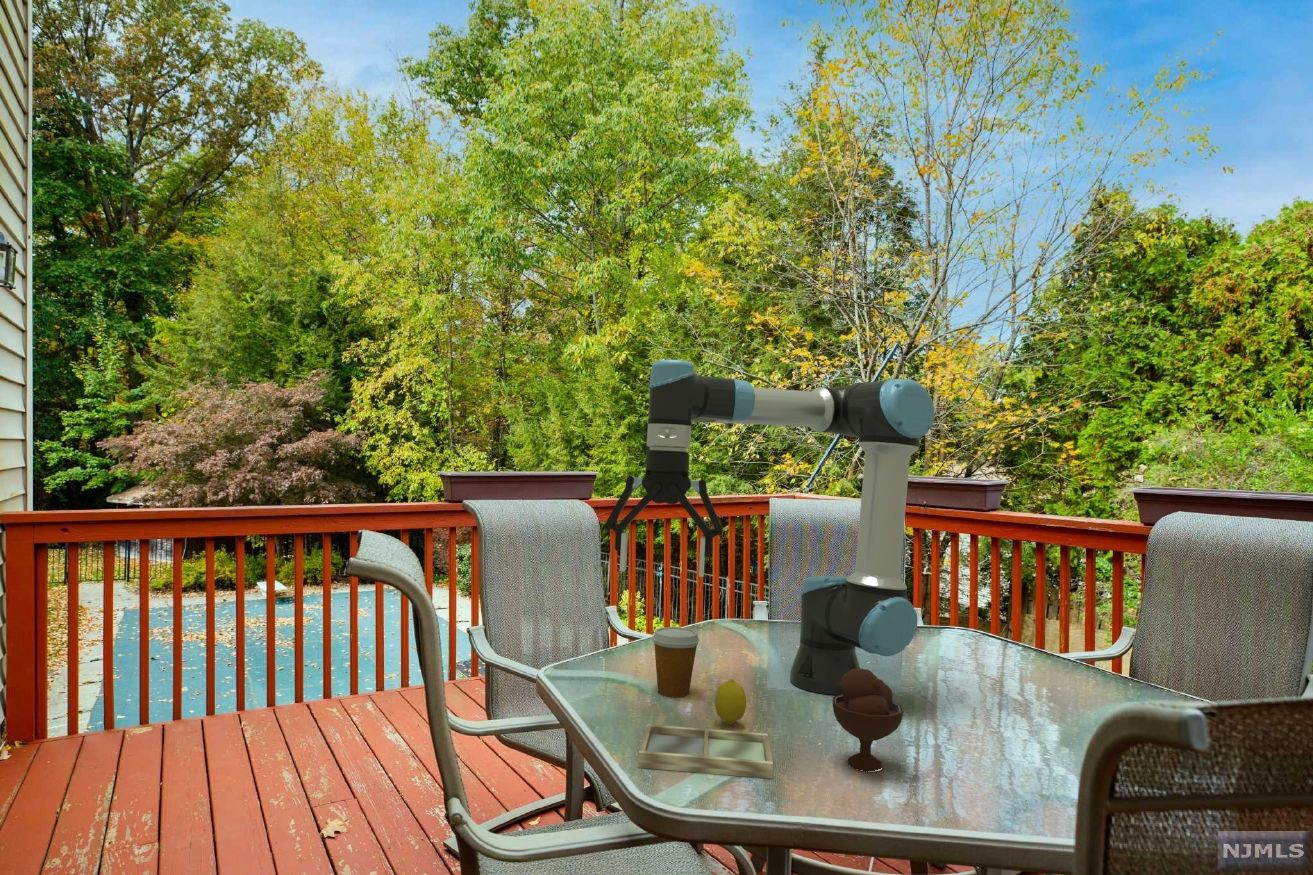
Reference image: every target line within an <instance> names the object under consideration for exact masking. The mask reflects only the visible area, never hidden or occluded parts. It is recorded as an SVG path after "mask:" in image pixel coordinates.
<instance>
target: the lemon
mask: <svg viewBox="0 0 1313 875" xmlns="http://www.w3.org/2000/svg"><path fill="white" fill-rule="evenodd" d="M746 708H747V696H746V691H745V689H744V687H743V686H742V685H741V684H740V683H738V682H736V681H735V679H731V678H730V679H728V680H726V681H725V682H723V683H721V684H720V685H719V687H718V688H717V691H716V693H715V696H714V709H715V711H716V714H717V716H718V717H719V719H721V720H722V721H724V722H725V723H726V724H727V725H728V726H731V725H733V724H734V723H735V722H738V721H739V720H741V719H742V718H743V716H744V714H745V712H746Z"/></svg>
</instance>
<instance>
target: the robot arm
mask: <svg viewBox="0 0 1313 875" xmlns="http://www.w3.org/2000/svg"><path fill="white" fill-rule="evenodd" d="M648 388H649V393H648V394H649V398H648V420H647V431H646V432H647V433H646V434H647V435H646V436H647V437H646V446H647V447H649V450H647V451H646V453H645V469H644V470H645V472H644V476H643V478H642V477H635V476H634V475H628V476H627V477H626V480H625V481H626V482H625V486H624V489H623V491H622V493H621V495H620V497H619V498H618V500H617V502H616V504H615V506H614V507H613V508H612V511H611V512H610V514H609V516H608V518H607V520H606V522H605V527H606V528H607V529H610V530H613V532H614V533H615V534H614V536H615V537H614V550H615V551H616V552H620V556H619V558H620V560H619V572H625V571H626V570H627V562H628V543H629V542H628V540H629V531H625V529H626V528H628V526H629V525H630V524H631V522H633V520H634V519H635V518H636V517H637V516H638V515H639V514H640V513H641V512H642V511H643V510H644V509H645V508H646V507H647V506H648V505H649V504H650V503H651V501H652V502H653V503H656V504H664V503H665V504H668V505H676V504H678V503H680V505H681V506H682V507H683V508H684V510H685V511H686V513H687V514H688V515H689V516H690V518H691V519H692V520H693V522H694V523H695V524H696V526H697V527H698V528H699V530H700V531H701V532H702V534H703V535H704V536H700V547H699V568H698V577H701V578H703V577H704V576H705V563H706V562H705V561H706V560H705V558H706V557H709V558H710V557H711V556H712V552H713V550H712V548H713V538H714V537H717V536H721V535H722V534H724V528H723V525H722V523H721V521H720V519H719V516H718V514H717V512H716V510H715V508H714V505H713V503H712V500H711V499H710V496H709V494H708V490H707V489H708V488H707V481H706V480H705V479H704V478H703V479H700V480H690V477H689V476H690V475H689V474H690V453H689V452H687V450H688V449H690V447H691V438H692V437H691V436H692V434H691V433H692V423H713V424H714V423H717V424H718V423H719V424H720V423H721V424H740V425H741V424H742V425H757V426H758V425H761V426H783V427H803V428H804V427H806V428H810V429H811V430H812V431H813V432H815V433H828V434H834V435H840V436H847V437H851V438H858V445H859V447H860V448H861V449H862V451H863V452H864V465H863V474H862V486H861V487H862V488H861V498H860V510H859V511H860V512H859V521H858V522H859V523H858V534H857V542H856V544H857V545H856V546H857V547H856V556H855V558H856V559H855V568H854V572H853V573H852V574H850V575H849V576H846V575H845V576H841V575H840V576H839V575H836V576H835V575H833V576H832V575H825V576H824V575H823V576H820V575H819V576H808V577H806V578H805V579H804V580H803V582H802V587H801V592H800V598H801V601H800V604H801V605H800V632H799V633H800V637H799V647H798V649H797V652H796V654H795V657H794V660H793V663H792V665H791V668H790V675H789V676H790V679H789V680H790V682H791V683H792V684H793V685H794V686H795V687H797V688H800V689H802V690H806V691H808V692H813V693H818V694H825V695H834V696H838V695H841V694H843V693H842V691H841V687H840V685H839V684H840V682H841V679H842V677H843V676H844V674H846V673H847V672H849V671H850V670H852V669H857V668H861V667H860V663H859V660H858V655H857V652H856V648H858V649H861V650H863V651H865V652H867V653H869V654H872V655H873V654H875V655H877V656H878V655H879V656H882V657H890V656H891V657H892V656H895V655H897V654H899V653H901V652H903V651H904V650H905V648H906V647H907V646H909V645H910V644H911V642H912V641H913V639H914V636H915V634H916V632H917V629H918V620H919V619H918V614H917V610H916V609H915V608H914V607H915V606H914V605H913V604H912V603H911V601H909V600H908V598H907V594H908V592H907V591H908V587H907V585H906V583H904V581H903V580H902V578H901V568H902V556H903V546H904V545H903V543H904V530H905V519H906V518H905V517H906V508H907V507H906V506H907V498H908V497H907V495H908V494H907V493H908V482H909V471H910V461H911V460H910V458H911V457H912V456H913V455H914V454H915V453H916V452H917V451H918V450H919V448H920V438H922V437H923V436H925V435H927V434H928V433H929V430H932V427H933V425H934V422H935V415H936V414H935V412H936V411H935V406H934V402H933V398H932V396H931V394H929V393H928V392H927V390H926V388H925V387H924V386H923V385H922V384H921V383H919V382H917V381H916V380H913V379H908V378H889V379H885V380H880V381H879V380H877V381H872V382H871V381H870V382H859V383H854V384H848V385H843V386H834V387H824V386H823V387H822V386H820V387H816V388H814V389H813V390H812V391H808V390H794V389H779V388H777V389H776V388H766V387H765V388H764V387H753V386H752V384H751V383H750V382H749V381H747V380H741V379H737V378H726V377H715V376H703V375H699V374H696V371H695V366H694V364H693V362H692V361H686V360H681V359H660V360H656V361H654V363H653V364H652V365H651V371H650V378H649V384H648ZM640 485H642V487H643V488H644V490H645V492H646V493H645V495H644V496H643V497H642V498H641V499H640V501H638V503H637V504H636V505H635V506H634V507H633V508H632V509H631V510H630V511H629V512H628V513H627V515H625V517H624V518H623V519H622V520H621V521H620V522H619V523H618V522H617V521H618V519H619V517H620V516H621V513H622V512H623V510H624V508H625V506H626V505H627V503H628V501H629V499H630V497H631V496H632V494H633V492H634V490H636V489H638V488H639V486H640ZM691 488H692V489H694V491H695V493H699V496H700V499H701V501H702V503H703V505H704V508H705V510H706V512H707V515H708V517H709V519H710V522H711V524H712V526H713V528H710V526H709V525H708V524H707V523H706V522H705V520H704V518H702V516H701V515H700V513H699V512H698V511H697V510H696V508H695V507H694V505H693V504H692V503H691V501H690V500H689V499H688V497H687V496H686V494H687V493H688V491H689V490H690V489H691Z"/></svg>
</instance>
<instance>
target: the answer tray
mask: <svg viewBox="0 0 1313 875" xmlns="http://www.w3.org/2000/svg"><path fill="white" fill-rule="evenodd" d="M772 756H773V755H772V751H771V745H770V740H769V735H768V733H763V732H751V731H750V732H748V731H737V730H723V729H722V730H721V729H711V728H710V729H709V728H697V727H685V726H683V727H682V726H673V725H670V726H669V725H663V724H662V725H660V724H646V727H645V729H644V734H643V737H642V740H641V744H640V748H639V751H638V764H637V765H638V766H637V768H639V769H652V770H664V771H675V772H677V771H678V772H686V773H687V772H688V773H697V774H699V773H700V774H701V773H702V774H711V775H723V776H737V777H747V778H758V779H773V771H774V770H773V768H774V763H773V757H772Z"/></svg>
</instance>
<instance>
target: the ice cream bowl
mask: <svg viewBox="0 0 1313 875" xmlns="http://www.w3.org/2000/svg"><path fill="white" fill-rule="evenodd" d="M839 685H840V687H841V691H842V693H843V694H841V695H834V696H832V710H833V714H834V717H835V720H836V721H837V722H838V724H839V725H840V726H841V727H842V729H843V730H844V731H846V732H847V733H849V735H851V736H853V737H855V738H857V739H858V742H859V743H860V744H859V752H858V753H855V754H852V755H850V756H848V758H847V760H846V762H847V763H848V765H847V766H849V765H850V766H851V768H852V767H853V768H854V769H853V768H852V769H853V770H856V769H858V770H857V771H860V770H863V771H865V772H864V773H869V772H868V771H875V770H878V769H881V768H883V763H882V761H881V760H880V759H878V758H877V757H876V756H875V755H873V754H872V744H873V742H875V741H879V740H882V739H884V738H886V737H887V736H890V735H891V734H892V733H894V732H895V731H897V729H898V728H899V727H900V725H901V723H902V720H903V716H904V710H903V706H902V704H900V703H898V702H896V701H893V690H892V689H891V687H889V686H888V685H887V684H886V682H884V681H883V680H882V679H880V678H878V677H877V676H876V674H874V673H873V672H872V671H871V670H869V669H865V668H861V667H860V668H857V669H852V670H850V671H849V672H847V673H846V674H844V676H843V677H842V679H841V682H840V684H839ZM850 766H849V767H850ZM863 771H862V772H863ZM866 771H867V772H866Z"/></svg>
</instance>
